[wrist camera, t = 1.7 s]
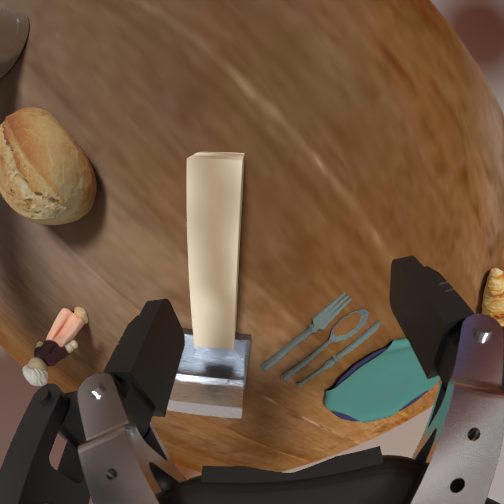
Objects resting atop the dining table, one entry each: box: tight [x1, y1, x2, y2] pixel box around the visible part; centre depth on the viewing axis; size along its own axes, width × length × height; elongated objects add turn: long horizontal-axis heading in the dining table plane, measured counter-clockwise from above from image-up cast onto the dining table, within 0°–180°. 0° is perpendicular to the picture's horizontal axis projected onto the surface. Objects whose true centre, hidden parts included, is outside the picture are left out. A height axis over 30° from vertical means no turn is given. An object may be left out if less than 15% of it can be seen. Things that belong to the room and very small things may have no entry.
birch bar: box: [187, 152, 245, 350], centre depth 25 cm, size 4×18×5 cm, turn 176°
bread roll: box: [0, 107, 97, 225], centre depth 20 cm, size 10×15×8 cm, turn 44°
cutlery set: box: [262, 292, 440, 423], centre depth 35 cm, size 20×30×2 cm, turn 50°
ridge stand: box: [167, 328, 251, 418], centre depth 31 cm, size 10×10×8 cm
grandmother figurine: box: [23, 307, 88, 386], centre depth 26 cm, size 8×4×13 cm, turn 113°
